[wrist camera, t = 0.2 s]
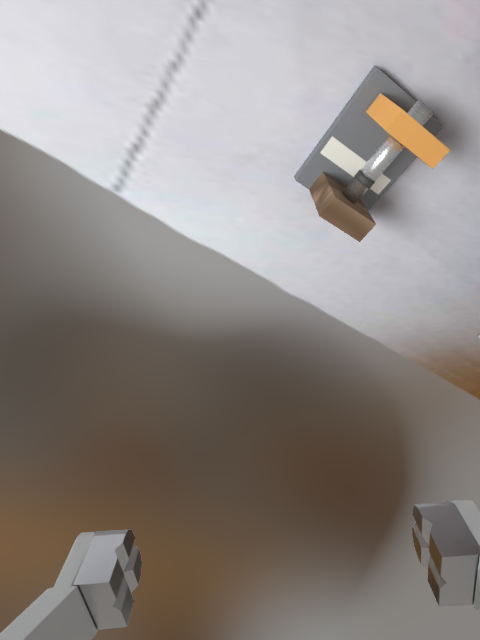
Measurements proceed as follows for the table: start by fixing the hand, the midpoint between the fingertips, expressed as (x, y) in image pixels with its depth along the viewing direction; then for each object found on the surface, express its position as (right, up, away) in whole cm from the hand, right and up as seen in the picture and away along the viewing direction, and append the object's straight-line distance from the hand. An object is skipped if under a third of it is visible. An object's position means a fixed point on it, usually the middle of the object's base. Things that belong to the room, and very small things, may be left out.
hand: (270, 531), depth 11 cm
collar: (+19, +32, +39) cm, 54 cm away
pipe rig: (+16, +30, +43) cm, 55 cm away
